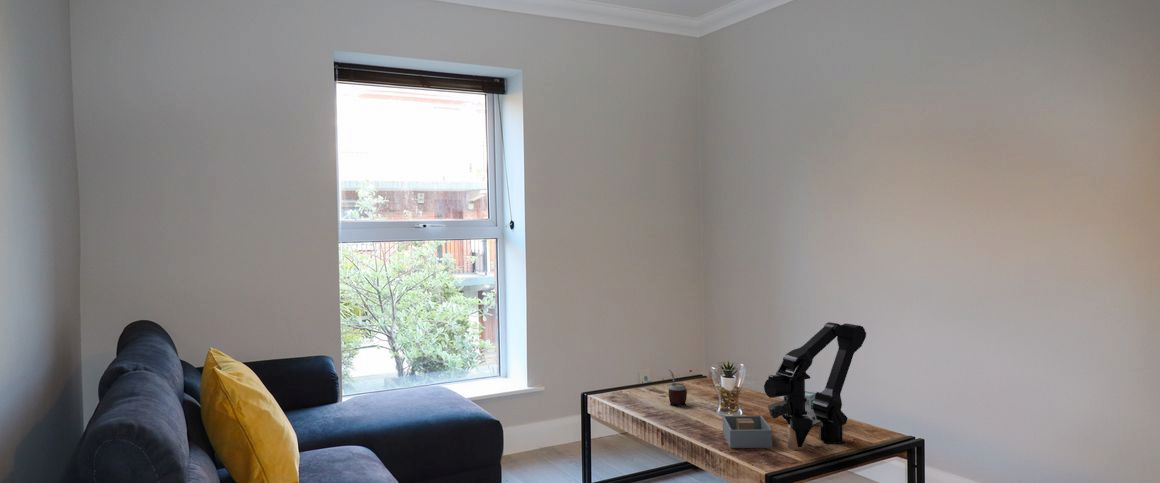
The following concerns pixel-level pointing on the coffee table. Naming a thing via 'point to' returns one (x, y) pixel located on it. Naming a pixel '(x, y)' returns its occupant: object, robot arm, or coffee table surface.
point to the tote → (747, 433)
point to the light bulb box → (810, 406)
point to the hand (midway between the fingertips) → (796, 442)
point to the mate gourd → (677, 393)
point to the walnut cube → (745, 424)
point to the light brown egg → (793, 440)
